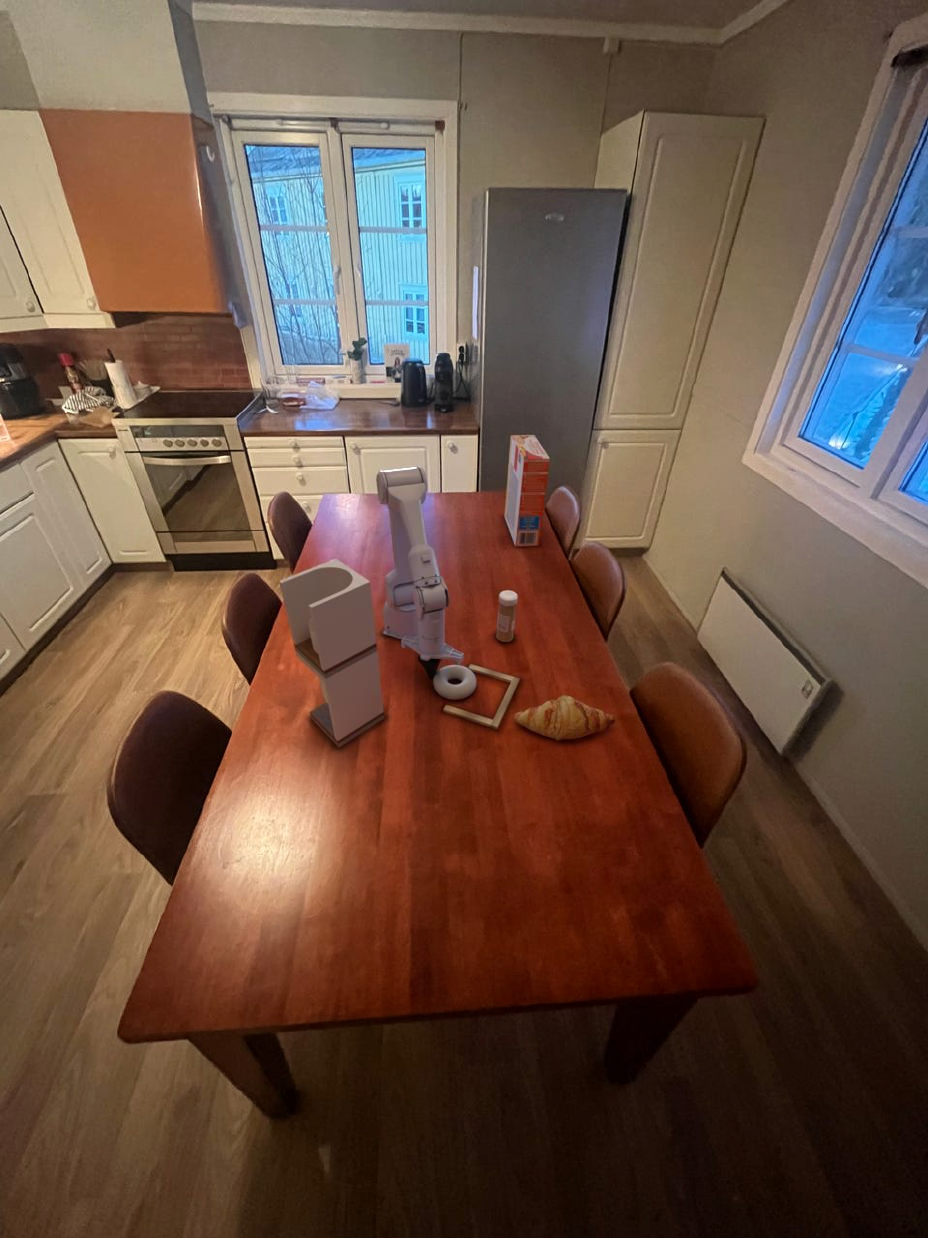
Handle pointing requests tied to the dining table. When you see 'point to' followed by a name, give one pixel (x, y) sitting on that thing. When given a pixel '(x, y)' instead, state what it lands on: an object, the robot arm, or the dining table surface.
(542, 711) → the croissant
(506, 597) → the sprinkles bottle
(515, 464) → the cereal box
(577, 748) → the dining table surface
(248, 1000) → the dining table surface
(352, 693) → the grey pedestal stand
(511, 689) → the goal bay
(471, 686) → the donut
